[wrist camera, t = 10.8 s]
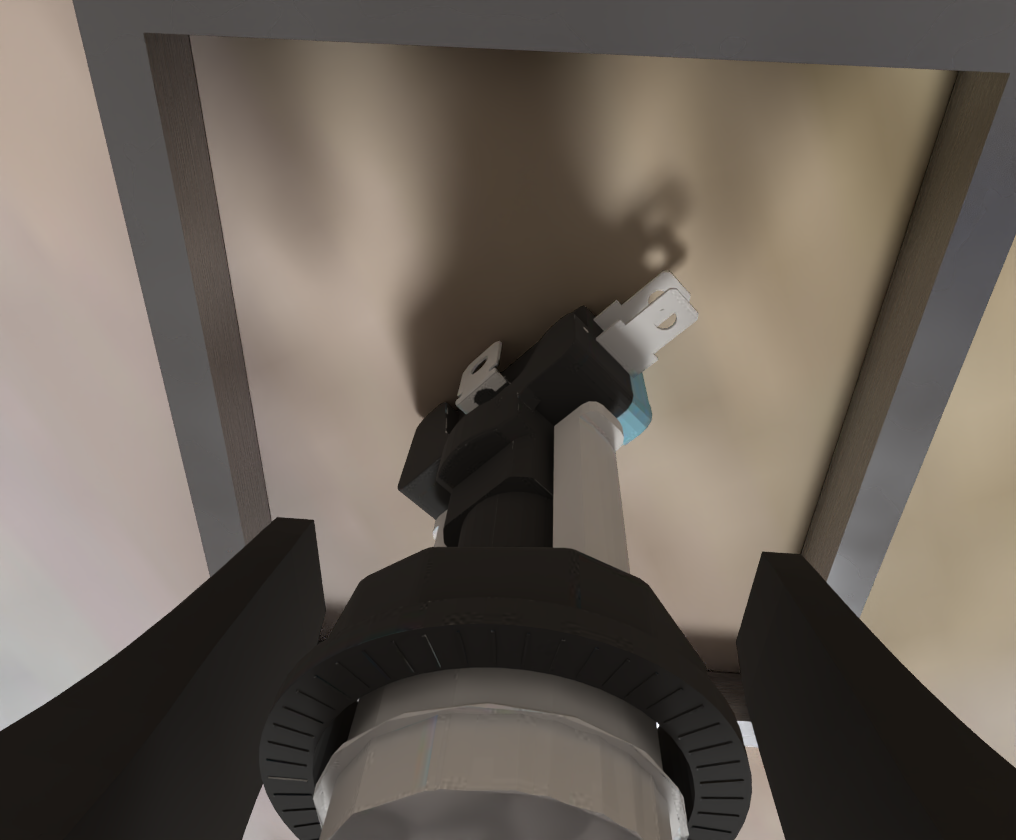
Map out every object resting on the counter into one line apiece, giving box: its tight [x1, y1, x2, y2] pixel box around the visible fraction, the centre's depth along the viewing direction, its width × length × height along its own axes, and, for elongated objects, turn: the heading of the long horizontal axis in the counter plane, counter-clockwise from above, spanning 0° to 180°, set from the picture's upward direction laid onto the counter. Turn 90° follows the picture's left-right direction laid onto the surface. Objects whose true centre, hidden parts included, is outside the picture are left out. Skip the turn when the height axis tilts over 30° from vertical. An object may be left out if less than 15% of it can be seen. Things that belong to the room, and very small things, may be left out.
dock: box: [73, 0, 1016, 747], centre depth 15 cm, size 15×17×2 cm
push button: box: [259, 271, 752, 840], centre depth 11 cm, size 7×5×10 cm
